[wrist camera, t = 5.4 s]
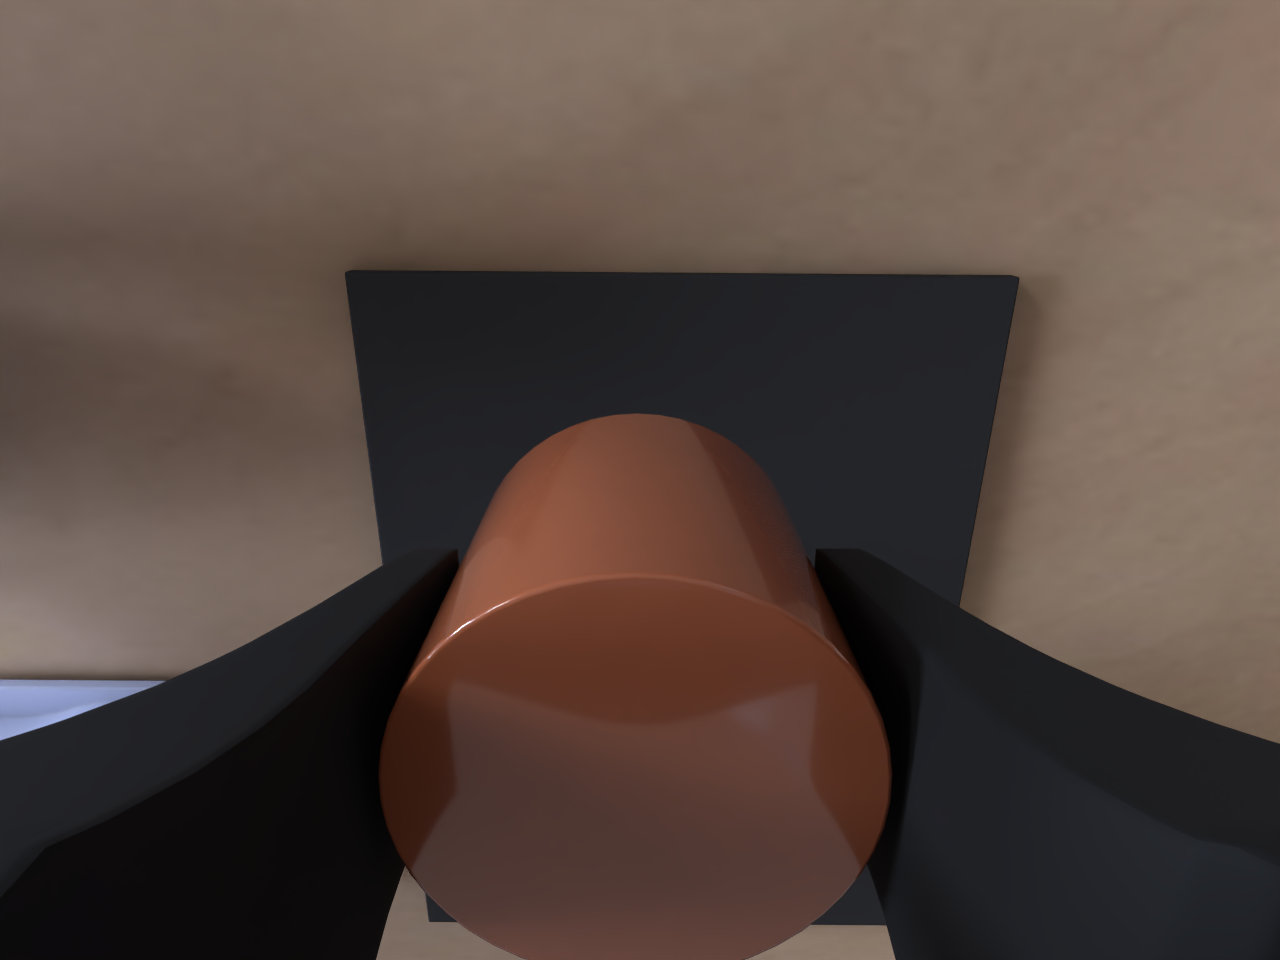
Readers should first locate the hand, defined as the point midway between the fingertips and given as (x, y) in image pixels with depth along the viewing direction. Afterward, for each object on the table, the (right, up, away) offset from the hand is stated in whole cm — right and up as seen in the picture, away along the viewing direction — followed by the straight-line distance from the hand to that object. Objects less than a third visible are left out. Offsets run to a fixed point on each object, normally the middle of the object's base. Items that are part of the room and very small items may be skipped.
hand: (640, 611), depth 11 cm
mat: (+1, -3, +10) cm, 10 cm away
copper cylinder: (0, +1, +1) cm, 1 cm away
